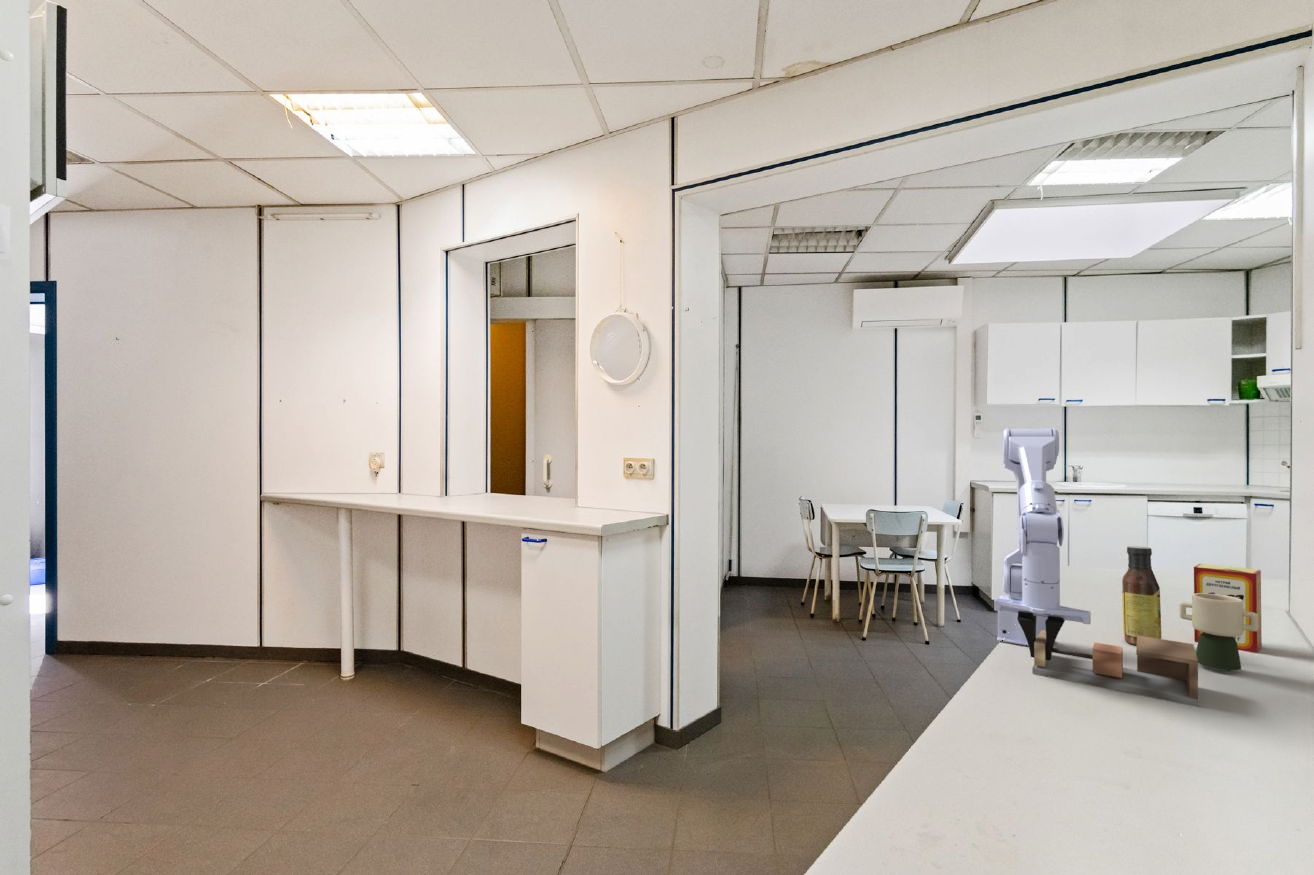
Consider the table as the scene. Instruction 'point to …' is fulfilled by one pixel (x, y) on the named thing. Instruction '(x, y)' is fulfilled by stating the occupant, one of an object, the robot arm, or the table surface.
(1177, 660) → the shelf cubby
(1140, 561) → the sauce bottle
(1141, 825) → the table surface
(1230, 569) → the baking soda box
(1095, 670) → the pull block
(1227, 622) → the character mug
